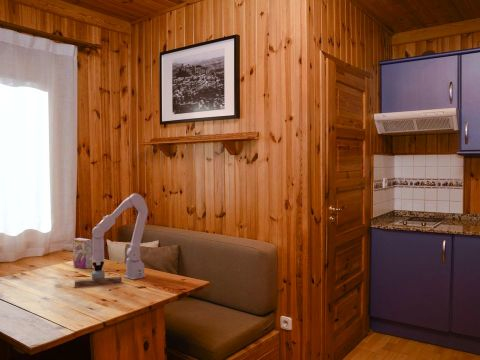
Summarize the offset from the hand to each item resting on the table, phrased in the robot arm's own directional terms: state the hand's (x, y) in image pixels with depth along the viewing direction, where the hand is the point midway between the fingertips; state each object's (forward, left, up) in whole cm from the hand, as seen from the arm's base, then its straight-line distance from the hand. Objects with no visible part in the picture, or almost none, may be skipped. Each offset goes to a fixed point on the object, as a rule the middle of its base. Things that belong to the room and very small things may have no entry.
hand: (98, 276), depth 219 cm
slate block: (-4, +2, -2) cm, 5 cm away
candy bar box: (+31, -9, -2) cm, 33 cm away
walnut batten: (-8, +5, -2) cm, 9 cm away
